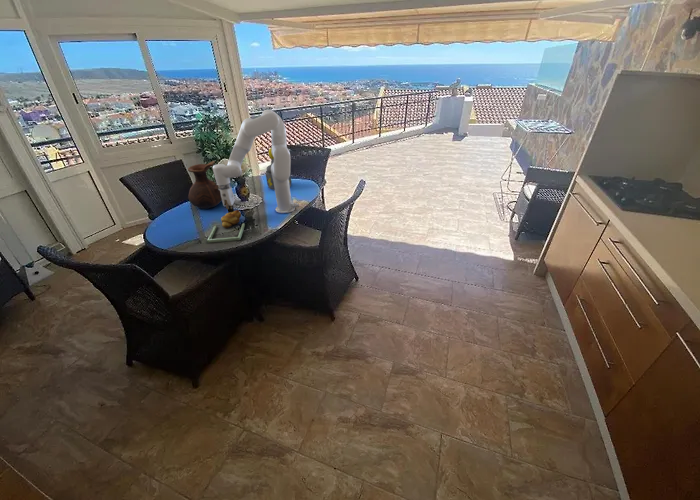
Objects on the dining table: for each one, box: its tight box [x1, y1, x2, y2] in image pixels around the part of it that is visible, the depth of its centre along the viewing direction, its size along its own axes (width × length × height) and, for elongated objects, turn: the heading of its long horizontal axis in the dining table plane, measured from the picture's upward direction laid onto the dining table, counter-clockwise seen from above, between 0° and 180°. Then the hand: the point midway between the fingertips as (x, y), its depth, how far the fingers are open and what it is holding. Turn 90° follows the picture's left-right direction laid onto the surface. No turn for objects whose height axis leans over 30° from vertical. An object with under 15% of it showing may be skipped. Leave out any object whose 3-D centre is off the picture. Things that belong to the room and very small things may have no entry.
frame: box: [206, 222, 246, 244], centre depth 168 cm, size 17×17×2 cm
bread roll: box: [220, 209, 242, 229], centre depth 175 cm, size 13×10×8 cm
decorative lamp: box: [265, 147, 292, 191], centre depth 221 cm, size 19×19×30 cm
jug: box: [187, 160, 222, 210], centre depth 194 cm, size 22×22×30 cm
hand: (231, 214), depth 182 cm, fingers closed
